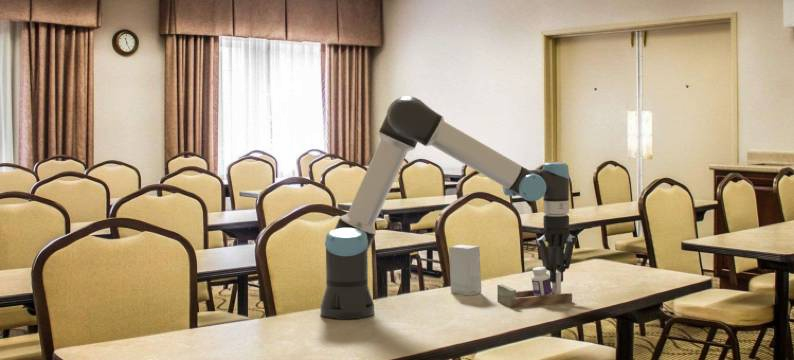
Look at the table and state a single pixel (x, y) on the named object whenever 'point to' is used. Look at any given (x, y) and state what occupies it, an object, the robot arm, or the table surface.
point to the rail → (528, 297)
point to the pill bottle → (541, 282)
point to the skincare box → (465, 269)
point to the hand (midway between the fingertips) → (556, 292)
